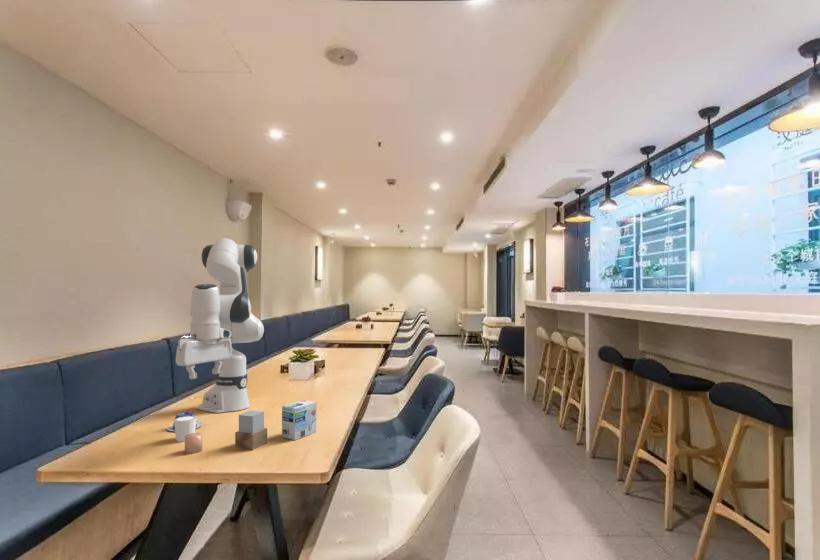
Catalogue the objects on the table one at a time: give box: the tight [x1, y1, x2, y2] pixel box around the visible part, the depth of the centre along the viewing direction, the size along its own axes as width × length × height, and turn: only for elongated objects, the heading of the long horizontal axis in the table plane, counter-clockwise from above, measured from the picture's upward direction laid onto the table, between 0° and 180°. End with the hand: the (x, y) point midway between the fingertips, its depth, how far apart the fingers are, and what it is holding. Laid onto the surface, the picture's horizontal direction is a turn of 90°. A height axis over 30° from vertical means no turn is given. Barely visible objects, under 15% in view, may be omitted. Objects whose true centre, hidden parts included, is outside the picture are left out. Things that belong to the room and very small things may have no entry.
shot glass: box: [173, 415, 198, 443], centre depth 148 cm, size 7×7×7 cm
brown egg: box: [184, 432, 203, 455], centre depth 136 cm, size 5×5×5 cm
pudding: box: [166, 411, 204, 432], centre depth 161 cm, size 12×12×5 cm
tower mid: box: [238, 410, 265, 434], centre depth 141 cm, size 6×6×6 cm
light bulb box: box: [281, 399, 317, 441], centre depth 151 cm, size 11×7×11 cm, turn 148°
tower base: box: [234, 427, 268, 451], centre depth 141 cm, size 7×7×5 cm
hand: (204, 376), depth 140 cm, fingers open, 8 cm apart
